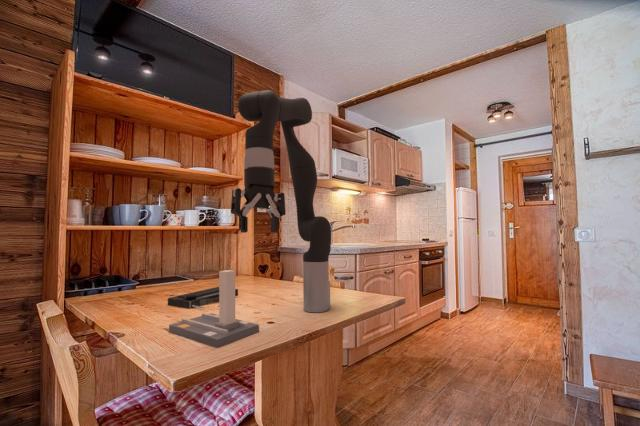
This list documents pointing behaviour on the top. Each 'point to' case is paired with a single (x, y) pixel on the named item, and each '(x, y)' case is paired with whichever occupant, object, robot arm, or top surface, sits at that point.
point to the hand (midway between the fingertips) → (259, 232)
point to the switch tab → (227, 300)
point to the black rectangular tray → (196, 298)
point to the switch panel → (212, 330)
